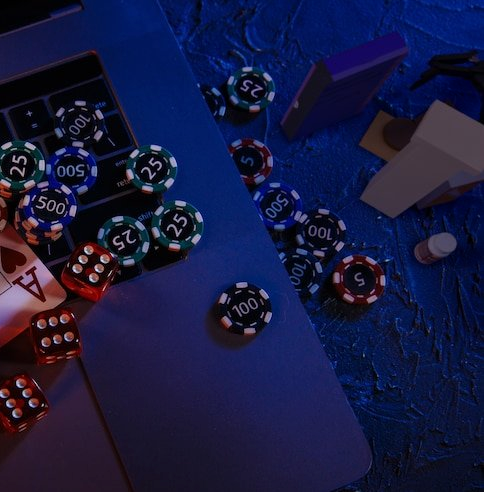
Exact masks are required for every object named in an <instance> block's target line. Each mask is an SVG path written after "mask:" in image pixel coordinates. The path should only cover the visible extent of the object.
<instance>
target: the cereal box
mask: <svg viewBox="0 0 484 492" xmlns="http://www.w3.org/2000/svg"><path fill="white" fill-rule="evenodd" d="M410 52H411V51H410V48H409V46H408V44H407V43H406V41H405V39H404V38H403V37H402V35H401V33H400V32H399V31H398V30H397V29H396V30H394V31H391V32H389V33H387V34H383V35H381V36H379V37H376V38H374V39H372V40H369V41H366V42H364V43H361V44H358V45H356V46H353V47H351V48H348V49H346V50H344V51H341V52H337V53H335V54H333V55H331V56H328V57H326V58H322V59H321V60H318V61H315V62H313V64H312V66H311V67H310V69H309V71H308V73H307V75H306V77H305V79H304V80H303V82H302V84H301V85H300V86H299V89H298V91H297V93H296V94H295V95H294V97H293V100H292V101H291V104H290V105H289V107H288V108H287V110H286V112H285V114H284V116H283V117H282V118H281V122H279V124H280V126H281V128H282V129H283V131H284V133H285V135H286V136H287V139H288V141H289V142H293V141H295V140H297V139H300V138H303V137H305V136H308V135H310V134H313V133H315V132H317V131H320V130H322V129H325V128H327V127H330V126H333V125H335V124H337V123H339V122H342V121H344V120H347V119H349V118H351V117H354V116H357V115H359V114H361V113H362V112H363V111H364V109H365V108H366V107H367V106H368V105H369V103H370V102H371V100H372V99H373V98H374V97H375V95H376V94H377V93H378V92H379V91H380V89H381V88H382V87H383V86H384V84H385V83H386V82H387V80H388V79H389V78H390V77H391V76H392V75H393V73H394V72H395V70H397V68H398V67H399V66H400V64H401V63H402V62H403V61H404V59H405V58H406V57H407V56H408V55H409V53H410Z"/></svg>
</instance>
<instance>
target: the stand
mask: <svg viewBox="0 0 484 492" xmlns="http://www.w3.org/2000/svg"><path fill="white" fill-rule="evenodd" d="M443 102H444V101H441V100H439V99H435V100H434V101H433V102H432V103H431V104H430V105H429V107H428V109H427V110H426V111H427V112H426V111H425V112H426V114H425V116H424V117H423V119H422V121H421V123H420V124H419V126H418V128H417V129H416V131H415V133H414V134H413V136H412V138H411V139H410V140H411V142H410V143H409V144H408V145H406V146H405V147H404V148H403V149H402V150H401V151H400V152H399V153H398V154H397V155H396V156H395V157H394V158H392V159H391V160H390V161H389V162H387V163H386V164H385V165H384V166H383V167H382V168H380V169H379V170H378V171H377V172H376V173H375V174H374V175H373V176H372V177H371V179H370V180H369V182H368V183H367V185H366V187H365V189H364V190H363V192H362V193H361V195H360V197H359V200H361V201H362V202H364V203H366V204H367V205H368V206H371V207H372V208H374V209H376V210H378V211H379V212H381V213H382V214H384V215H385V216H388V217H389V218H391V219H395V218H396V217H398V216H399V215H400V214H402V213H404V212H405V211H406V210H407V209H409V208H410V207H412V206H413V205H414V204H416V202H417V201H419V200H420V199H421V198H423V197H424V196H426V195H427V194H428V193H430V192H431V191H433V190H434V189H435V188H437V187H438V186H440V185H441V184H442V183H444V182H445V181H447V180H448V179H449V178H451V177H452V176H454V175H455V174H456V173H458V172H459V171H461V170H464V171H465V172H467V173H469V174H471V175H472V176H474V177H476V176H477V175H479V174H480V173H482V172H483V170H484V125H482V124H481V123H479V122H477V120H475V119H474V118H472V117H469V116H468V115H466V114H464V113H462V112H461V111H459V110H458V109H457V110H455V109H454V108H452V107H450V106H448V105H446V104H444V103H443Z"/></svg>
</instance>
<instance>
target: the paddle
mask: <svg viewBox="0 0 484 492" xmlns="http://www.w3.org/2000/svg"><path fill="white" fill-rule="evenodd" d="M442 102H443V103H444V104H446V105H448V106H450V107H452V108H454V109H455V110H457V111H458V108H457V107H456V106H455V104H453V102H452V101H451V100H450V98H447V99H445V100H444V101H442ZM427 111H428V110H426V111H425V112H423V113H420V114H419V115H417V116H416V117H414V118H412V120H411V119H410V118H407V117H403V116H398V117H394V119H392V120H390V121H389V122H388V123H387V125H386V126H385V127H384V129H383V138H384V141H385V142H386V144H387V145H388V146H389V147H390V148H392V149H394V150H396V151H401V150H402V149H403V148H404V147H405V146H406V145H408V144H409V143H410V142H411V140H410V139H411V138H412V136H413V134H414V133H415V131H416V129H417V128H418V126H419V124H420V123H421V121H422V119H423V117H424V116H425V114H426V112H427Z"/></svg>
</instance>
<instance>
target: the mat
mask: <svg viewBox="0 0 484 492" xmlns="http://www.w3.org/2000/svg"><path fill="white" fill-rule="evenodd" d="M394 118H395V117H394V116H392V115H390V114H389V113H387V112H386V111H383V110H382V109H380V110H378V113H377V114H376V116H375V117H374V119H373V120H372V122H371V124H370V125H369V127H368V129H367V130H366V132H365V133H364V135H363V137H362V138H361V140H360V142H358V146H360V147H361V148H363V149H365V150H367V151H368V152H369V153H372V154H373V155H375V156H377V157H379V158H380V159H382V160H384V161H386V162H387V163H388V162H389V161H390V160H391V159H392V158H394V157H395V156H396V155H397V154H398V153H399V152H400V151H396V150H394V149H392V148H390V147H389V146H388V145H387V144H386V142H385V141H384V138H383V129H384V127H385V126H386V125H387V123H388V122H389V121H390V120H392V119H394Z"/></svg>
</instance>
